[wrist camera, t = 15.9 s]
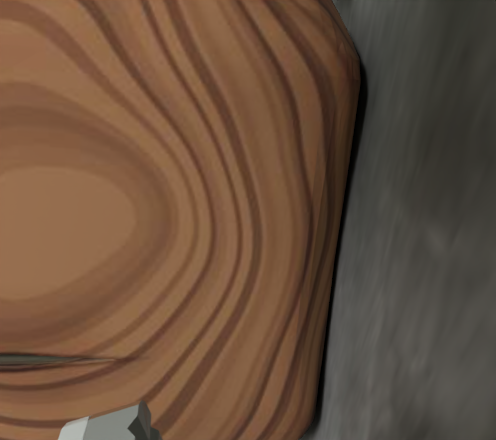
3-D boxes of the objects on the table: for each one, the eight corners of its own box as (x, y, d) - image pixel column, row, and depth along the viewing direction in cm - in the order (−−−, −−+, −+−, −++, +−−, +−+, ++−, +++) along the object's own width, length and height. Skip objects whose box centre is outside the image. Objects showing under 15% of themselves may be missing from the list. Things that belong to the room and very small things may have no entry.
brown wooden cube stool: (272, 49, 68) (-17, 20, 62) (407, -43, 26) (-477, -168, 19) (252, 291, 80) (7, 289, 73) (323, 501, 38) (-245, 543, 31)
